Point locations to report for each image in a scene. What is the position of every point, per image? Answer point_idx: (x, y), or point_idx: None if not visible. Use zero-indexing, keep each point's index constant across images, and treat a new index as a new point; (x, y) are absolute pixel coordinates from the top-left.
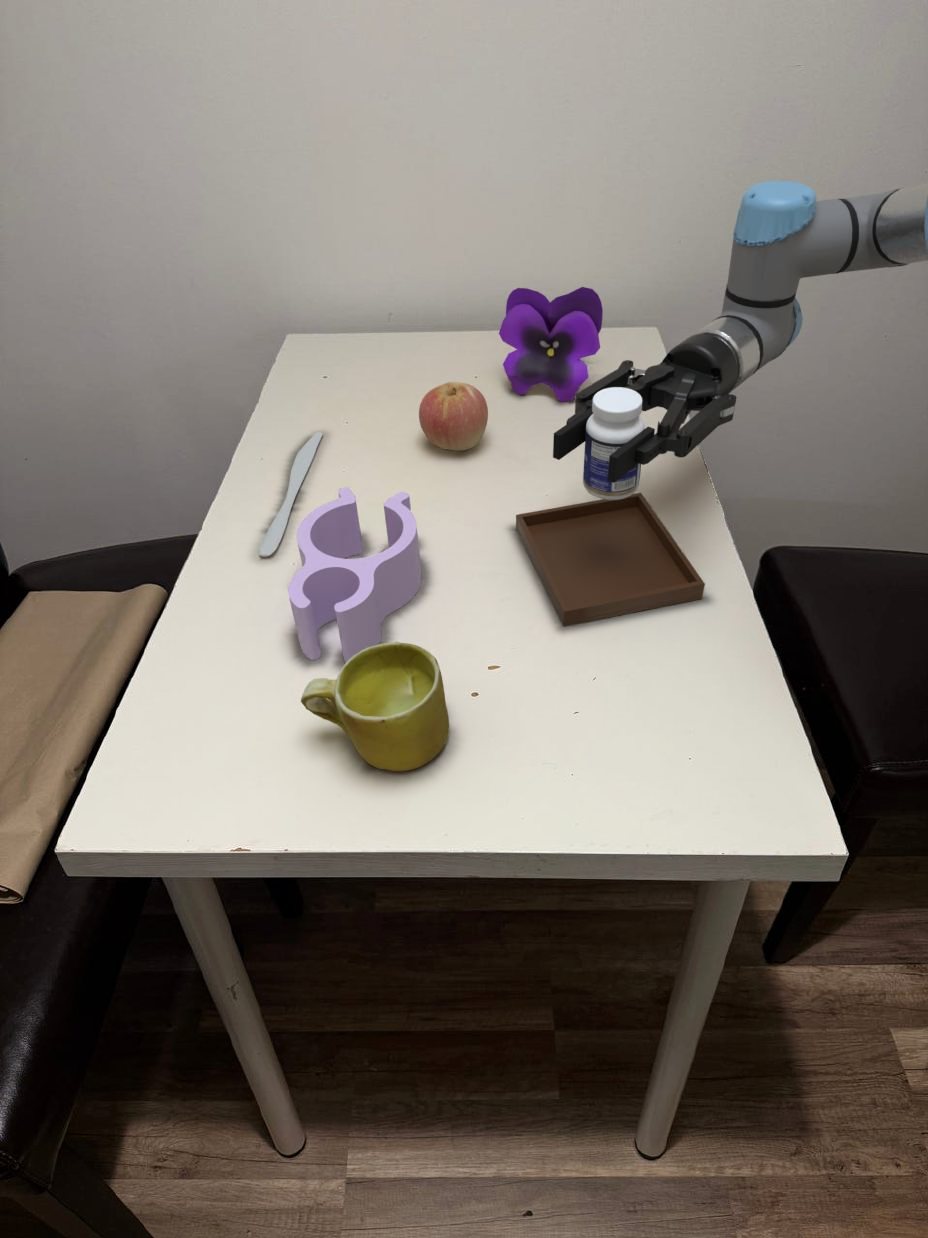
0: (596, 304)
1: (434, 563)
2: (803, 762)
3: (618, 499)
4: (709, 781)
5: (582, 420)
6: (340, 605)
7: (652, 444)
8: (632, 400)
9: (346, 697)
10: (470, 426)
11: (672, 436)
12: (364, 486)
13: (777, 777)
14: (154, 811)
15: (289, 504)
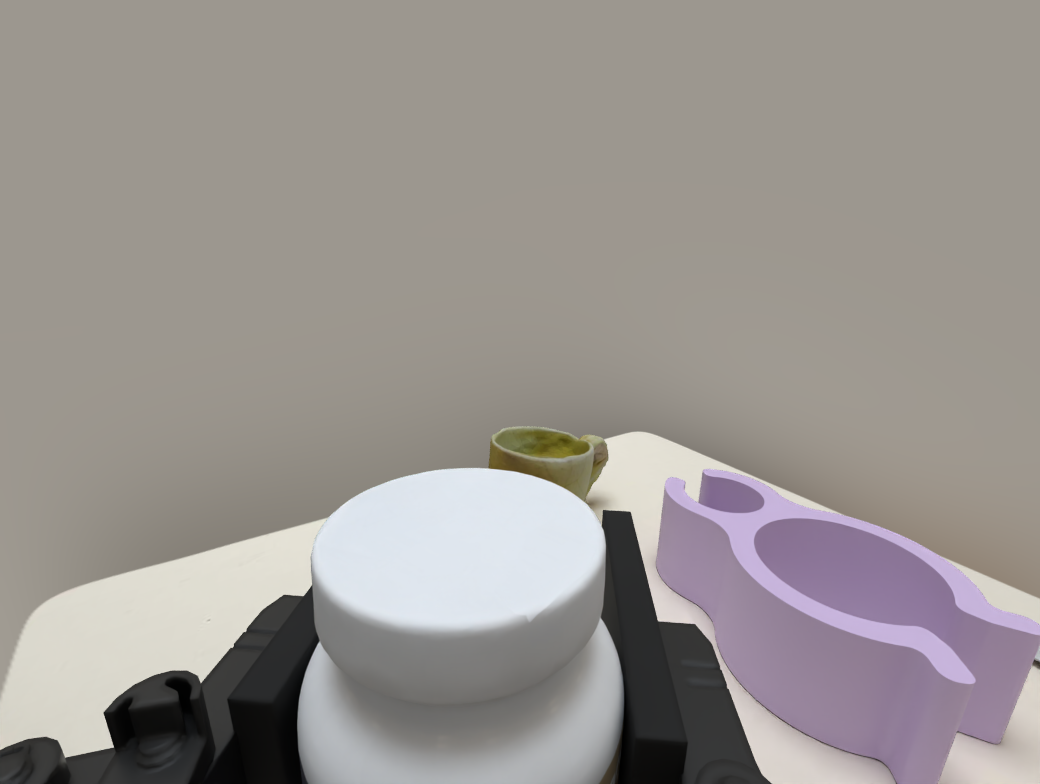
0: None
1: (811, 768)
2: (8, 684)
3: None
4: (185, 605)
5: (616, 605)
6: (678, 481)
7: (247, 653)
8: (373, 536)
9: (571, 452)
10: None
11: (100, 776)
12: None
13: (73, 646)
14: (627, 446)
15: None
